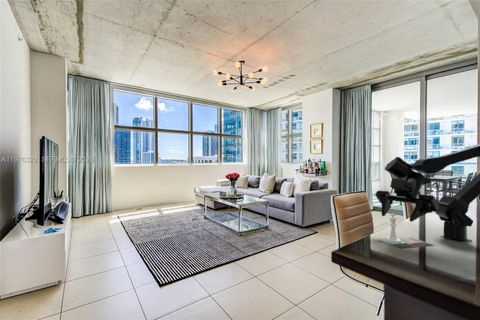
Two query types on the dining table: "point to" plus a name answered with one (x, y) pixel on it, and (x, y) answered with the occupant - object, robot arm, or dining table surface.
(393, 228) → the chess piece
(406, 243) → the pad
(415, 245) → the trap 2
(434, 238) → the dining table surface
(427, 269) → the dining table surface
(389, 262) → the dining table surface
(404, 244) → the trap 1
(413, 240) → the walnut board
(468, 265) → the dining table surface
